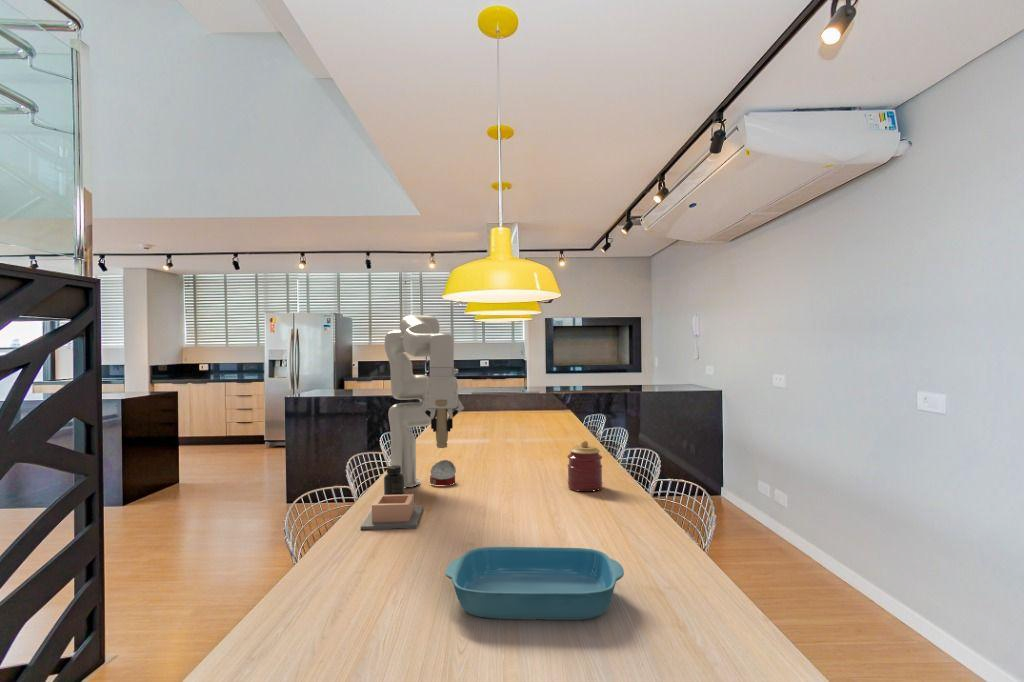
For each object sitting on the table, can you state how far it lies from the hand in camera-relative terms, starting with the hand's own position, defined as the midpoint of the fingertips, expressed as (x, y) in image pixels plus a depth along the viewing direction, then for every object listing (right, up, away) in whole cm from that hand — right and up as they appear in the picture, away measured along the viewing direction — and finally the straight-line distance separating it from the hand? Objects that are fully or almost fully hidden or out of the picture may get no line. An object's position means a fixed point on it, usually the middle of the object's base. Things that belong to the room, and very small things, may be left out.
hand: (441, 430), depth 162 cm
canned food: (-5, -28, +40) cm, 49 cm away
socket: (-15, -27, -3) cm, 31 cm away
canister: (+49, -27, +31) cm, 65 cm away
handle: (0, -5, 0) cm, 5 cm away
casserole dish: (+27, -26, -54) cm, 66 cm away
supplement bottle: (-19, -28, +16) cm, 37 cm away
